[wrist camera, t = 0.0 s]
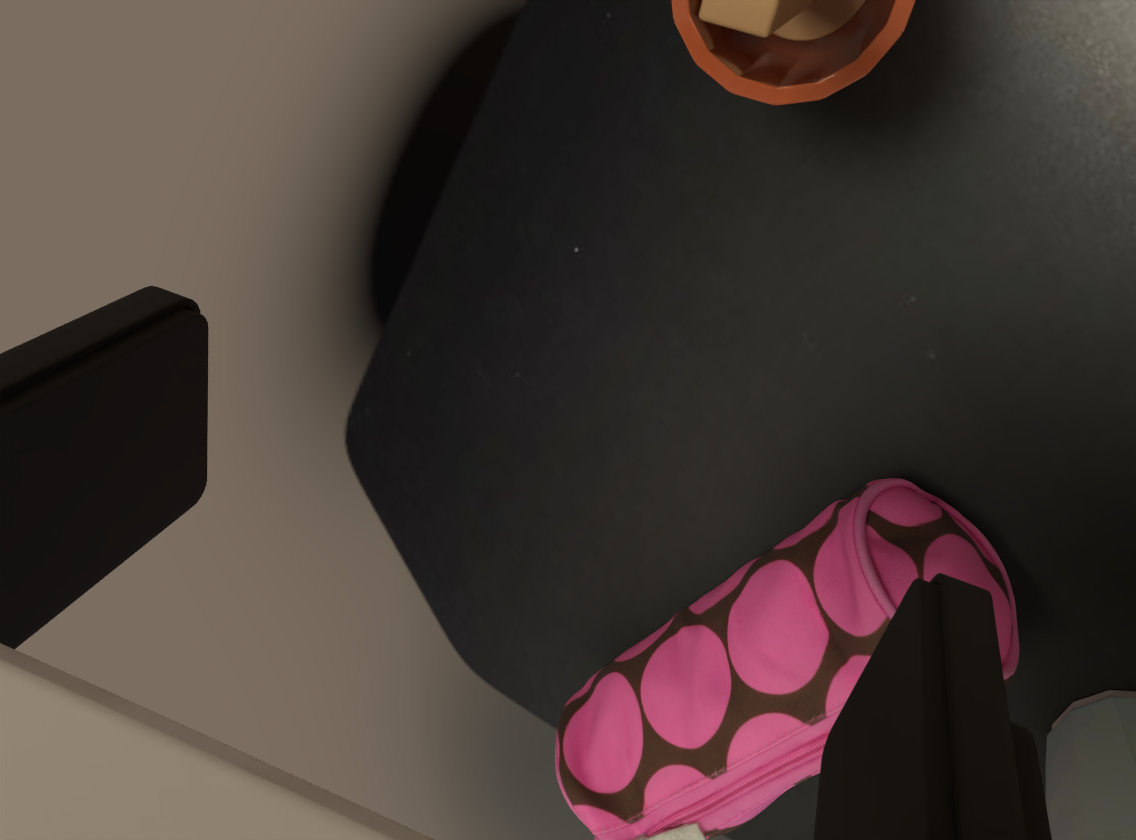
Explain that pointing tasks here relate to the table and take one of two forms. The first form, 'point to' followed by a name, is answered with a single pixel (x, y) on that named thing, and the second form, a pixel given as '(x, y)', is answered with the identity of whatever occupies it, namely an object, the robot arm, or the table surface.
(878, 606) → the pencil case
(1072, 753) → the disposable coffee cup
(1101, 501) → the table surface
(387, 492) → the table surface
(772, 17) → the wooden post with base
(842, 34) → the crock
